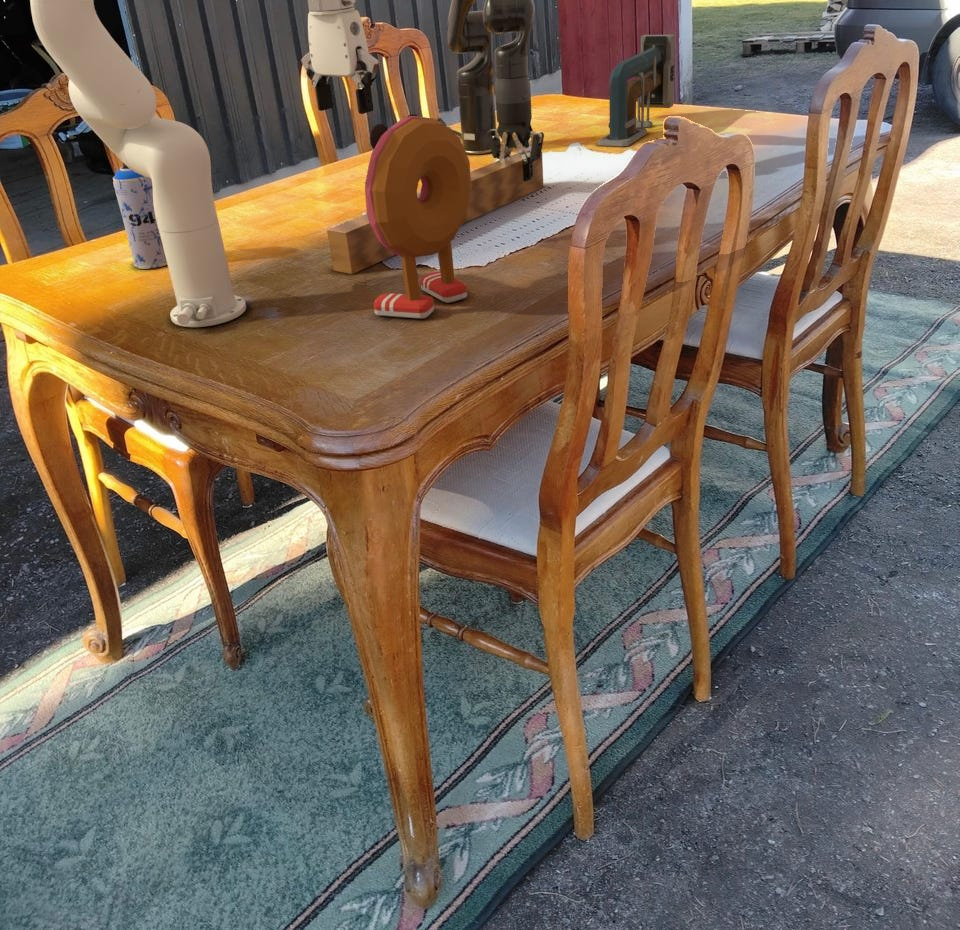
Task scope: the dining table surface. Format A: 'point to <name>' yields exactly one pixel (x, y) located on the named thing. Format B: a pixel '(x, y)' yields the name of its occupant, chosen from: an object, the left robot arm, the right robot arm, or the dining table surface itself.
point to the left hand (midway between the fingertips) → (345, 110)
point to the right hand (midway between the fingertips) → (517, 178)
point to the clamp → (640, 89)
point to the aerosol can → (139, 218)
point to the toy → (418, 207)
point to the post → (489, 184)
